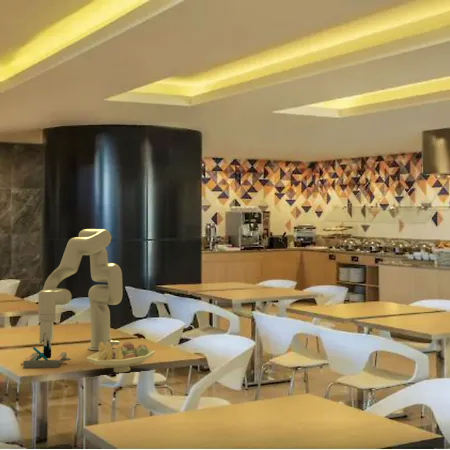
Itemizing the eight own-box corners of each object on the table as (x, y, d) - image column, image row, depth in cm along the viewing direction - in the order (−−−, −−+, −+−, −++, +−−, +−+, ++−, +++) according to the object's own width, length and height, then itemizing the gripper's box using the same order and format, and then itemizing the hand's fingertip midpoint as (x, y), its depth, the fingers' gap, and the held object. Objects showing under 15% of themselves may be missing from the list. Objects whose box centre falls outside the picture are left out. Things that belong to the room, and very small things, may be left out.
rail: (71, 357, 349) (71, 350, 349) (64, 367, 325) (64, 360, 325) (28, 358, 347) (28, 351, 347) (17, 368, 323) (17, 361, 323)
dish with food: (80, 378, 302) (80, 342, 302) (95, 364, 330) (94, 332, 330) (149, 378, 301) (149, 342, 301) (158, 364, 329) (158, 332, 329)
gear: (51, 361, 330) (34, 345, 329) (41, 371, 328) (24, 355, 327) (51, 360, 340) (35, 345, 340) (41, 370, 339) (25, 355, 338)
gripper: (41, 315, 347) (41, 355, 347) (35, 319, 332) (35, 361, 332) (57, 315, 348) (58, 354, 348) (52, 319, 333) (53, 360, 333)
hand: (47, 357), depth 340 cm, fingers closed
